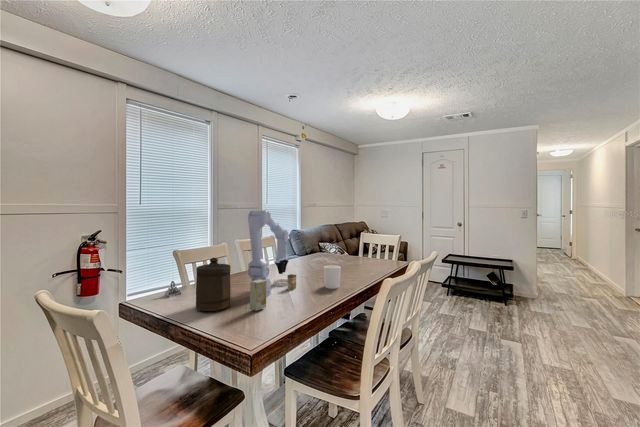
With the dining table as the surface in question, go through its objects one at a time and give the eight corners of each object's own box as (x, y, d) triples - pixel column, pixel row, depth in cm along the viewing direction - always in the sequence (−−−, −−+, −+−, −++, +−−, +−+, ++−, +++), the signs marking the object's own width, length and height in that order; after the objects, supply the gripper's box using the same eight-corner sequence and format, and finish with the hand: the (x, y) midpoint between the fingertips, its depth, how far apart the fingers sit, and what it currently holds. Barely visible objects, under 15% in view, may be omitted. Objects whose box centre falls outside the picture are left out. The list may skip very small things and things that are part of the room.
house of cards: (174, 291, 159) (174, 277, 159) (184, 293, 155) (184, 279, 155) (158, 295, 152) (158, 280, 152) (168, 298, 147) (168, 282, 147)
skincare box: (256, 311, 127) (256, 282, 127) (249, 309, 130) (249, 281, 130) (266, 307, 133) (266, 280, 133) (259, 305, 135) (259, 278, 135)
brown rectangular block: (296, 289, 164) (296, 274, 164) (293, 290, 161) (293, 276, 161) (290, 288, 166) (290, 274, 166) (287, 289, 162) (287, 275, 162)
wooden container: (236, 302, 140) (236, 256, 140) (219, 312, 126) (219, 261, 125) (208, 300, 143) (208, 255, 143) (188, 310, 129) (188, 259, 128)
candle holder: (320, 288, 164) (321, 267, 164) (327, 285, 173) (327, 264, 173) (337, 290, 161) (337, 268, 161) (343, 286, 170) (343, 265, 170)
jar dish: (291, 283, 176) (291, 279, 176) (286, 287, 168) (286, 283, 168) (277, 282, 179) (277, 278, 179) (271, 286, 170) (271, 282, 170)
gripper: (280, 248, 181) (280, 270, 181) (270, 251, 167) (270, 275, 167) (290, 248, 179) (290, 270, 179) (282, 251, 165) (282, 275, 165)
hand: (281, 273), depth 173 cm, fingers open, 4 cm apart
